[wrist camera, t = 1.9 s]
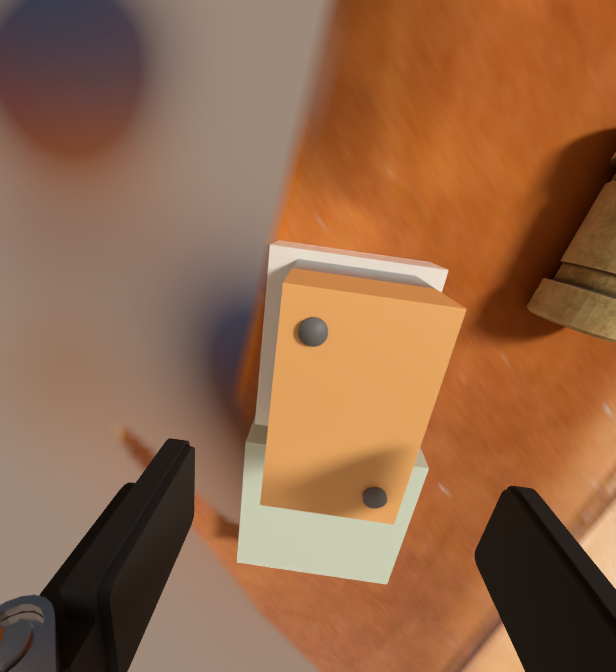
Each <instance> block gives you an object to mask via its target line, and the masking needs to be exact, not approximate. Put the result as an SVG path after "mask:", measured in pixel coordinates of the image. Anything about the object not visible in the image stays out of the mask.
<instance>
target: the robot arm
mask: <svg viewBox="0 0 616 672" xmlns="http://www.w3.org/2000/svg"><path fill="white" fill-rule="evenodd" d="M194 483H195V448H194V447H190V445H189V441H184V440H178V439H168V440H167V441H166V442H165V443H164V445H163V446H162V447H161V449H160V450H159V452H158V453H157V454H156V456H155V457H154V458H153V460H152V461H151V463H150V464H149V465H148V467H147V468H146V469H145V471H144V472H143V474H142V475H141V476H140V478H139V479H138V481H137V482H136V483H127V484H125V485H124V486H123V487H122V488H121V489H120V490H119V492H118V493H117V494H116V496H115V497H114V498H113V500H112V501H111V502H110V504H109V505H108V506H107V508H106V509H105V510H104V511H103V513H102V514H101V515H100V516H99V518H98V519H97V520H96V522H95V523H94V524H93V526H92V527H91V528H90V530H89V531H88V532H87V534H86V535H85V536H84V537H83V539H82V540H81V541H80V543H79V544H78V545H77V547H76V548H75V549H74V551H73V552H72V553H71V554H70V556H69V557H68V558H67V560H66V561H65V562H64V564H63V565H62V566H61V568H60V569H59V570H58V571H57V573H56V574H55V575H54V577H53V578H52V579H51V581H50V582H49V583H48V585H47V586H46V587H45V588H44V590H43V591H42V592H41V594H40V595H39V596H38V595H27V596H21V597H18V598H15V599H12V600H9V601H6V602H4V603H3V604H1V605H0V672H127V671H128V669H129V667H130V664H131V662H132V660H133V658H134V655H135V653H136V651H137V649H138V646H139V644H140V642H141V639H142V637H143V635H144V633H145V630H146V628H147V626H148V623H149V621H150V619H151V616H152V614H153V612H154V610H155V607H156V605H157V603H158V600H159V598H160V596H161V593H162V591H163V589H164V587H165V584H166V582H167V580H168V577H169V575H170V573H171V570H172V568H173V566H174V563H175V561H176V559H177V557H178V554H179V552H180V550H181V548H182V545H183V543H184V541H185V538H186V536H187V534H188V531H189V529H190V527H191V524H192V521H193V517H194ZM475 561H476V565H477V567H478V569H479V571H480V574H481V576H482V578H483V580H484V582H485V585H486V587H487V589H488V591H489V593H490V596H491V598H492V600H493V602H494V604H495V606H496V609H497V611H498V613H499V615H500V617H501V620H502V622H503V624H504V626H505V628H506V630H507V633H508V635H509V637H510V639H511V641H512V644H513V646H514V648H515V650H516V652H517V655H518V657H519V659H520V661H521V663H522V665H523V668H524V670H525V672H616V589H615V588H614V587H613V585H612V584H611V583H610V582H609V581H608V579H607V578H606V577H605V576H604V574H603V573H602V572H601V571H600V569H599V568H598V567H597V566H596V564H595V563H594V562H593V561H592V560H591V558H590V557H589V556H588V555H587V553H586V552H585V551H584V550H583V548H582V547H581V546H580V545H579V543H578V542H577V541H576V540H575V539H574V537H573V536H572V535H571V534H570V532H569V531H568V530H567V529H566V527H565V526H564V525H563V524H562V522H561V521H560V520H559V519H558V518H557V516H556V515H555V514H554V513H553V511H552V510H551V509H550V508H549V506H548V505H547V504H546V503H545V501H544V500H543V499H542V498H541V497H540V495H539V494H538V493H537V492H536V491H535V490H534V489H532V488H525V487H518V486H510V487H508V488H507V490H504V491H503V492H502V494H501V496H500V498H499V500H498V502H497V504H496V507H495V509H494V511H493V513H492V515H491V518H490V520H489V522H488V524H487V526H486V528H485V531H484V533H483V535H482V537H481V539H480V542H479V544H478V546H477V548H476V550H475Z"/></svg>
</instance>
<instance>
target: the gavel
mask: <svg viewBox="0 0 616 672" xmlns="http://www.w3.org/2000/svg"><path fill="white" fill-rule="evenodd" d="M610 165H611V166H613V167H615V168H616V152H615V153H614V155H613V157H612V159H611V160H610ZM560 262H562V265H561V267H560V268H559V270H558V272H557V274H556V275H555V277H554V279H547V278H543V279H542V281H541V282H540V284H539V286H538V288H537V289H536V291H535V293H534V294H533V296H532V298H531V300H530V301H529V303H528V305H527V308H528V309H529V311H530V312H532V313H534V314H536V315H538V316H540V317H542V318H544V319H547V320H549V321H552V322H554V323H557V324H559V325H562V326H565V327H567V328H570V329H573V330H576V331H579V332H581V333H584V334H587V335H590V336H594V337H597V338H600V339H604V340H607V341H612V342H616V173H615V175H614V177H613V178H612V180H611V182H608V183H606V184H605V185H604V187H603V188H602V190H601V192H600V193H599V195H598V197H597V199H596V200H595V202H594V204H593V205H592V207H591V209H590V211H589V212H588V214H587V216H586V217H585V219H584V221H583V223H582V224H581V226H580V228H579V229H578V231H577V233H576V235H575V236H574V238H573V240H572V241H571V243H570V245H569V247H568V248H567V250H566V252H565V253H564V255H563V257H562V259H561V260H560Z"/></svg>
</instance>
